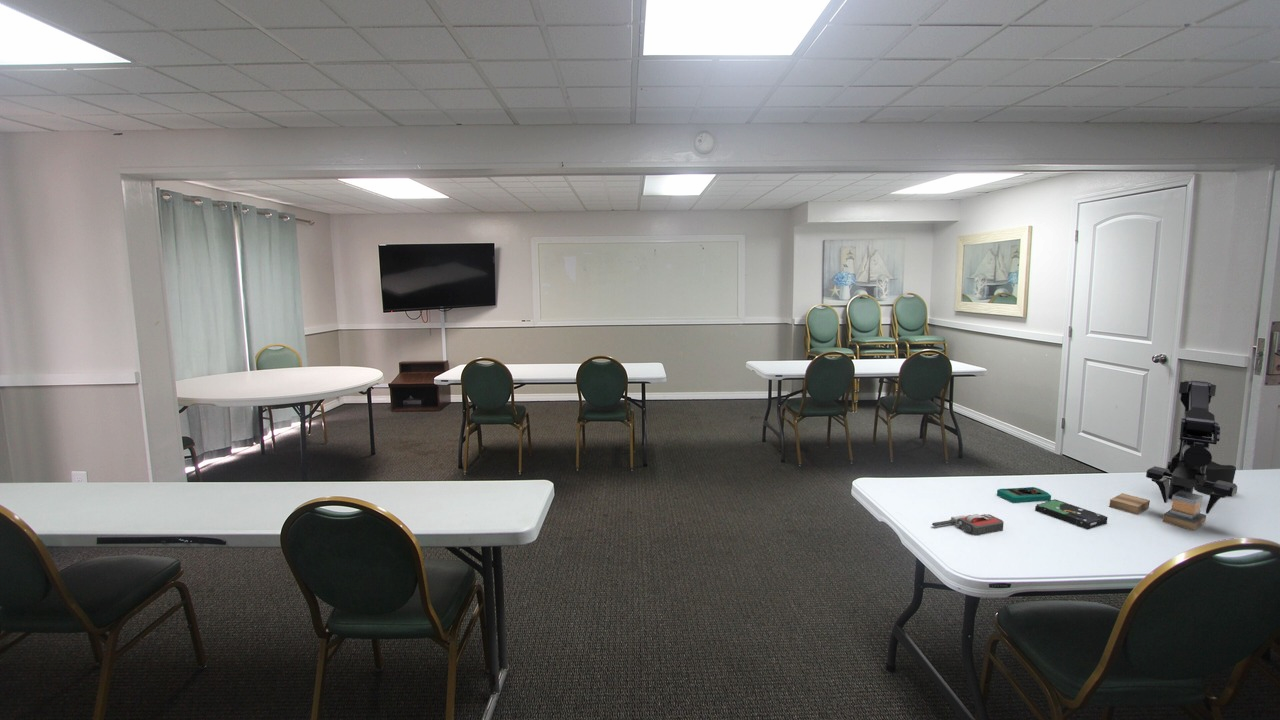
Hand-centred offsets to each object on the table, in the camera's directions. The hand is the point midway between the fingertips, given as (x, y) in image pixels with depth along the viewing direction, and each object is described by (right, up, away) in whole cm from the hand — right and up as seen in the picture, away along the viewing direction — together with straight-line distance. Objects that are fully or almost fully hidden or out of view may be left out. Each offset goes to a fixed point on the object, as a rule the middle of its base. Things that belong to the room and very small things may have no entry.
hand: (1185, 508), depth 167 cm
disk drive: (-32, -5, +4) cm, 32 cm away
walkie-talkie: (-68, -5, -4) cm, 68 cm away
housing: (0, -2, 0) cm, 2 cm away
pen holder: (+33, -1, +25) cm, 41 cm away
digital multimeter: (-36, -2, +19) cm, 41 cm away
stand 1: (-7, -3, +12) cm, 14 cm away
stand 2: (0, -4, +1) cm, 4 cm away
